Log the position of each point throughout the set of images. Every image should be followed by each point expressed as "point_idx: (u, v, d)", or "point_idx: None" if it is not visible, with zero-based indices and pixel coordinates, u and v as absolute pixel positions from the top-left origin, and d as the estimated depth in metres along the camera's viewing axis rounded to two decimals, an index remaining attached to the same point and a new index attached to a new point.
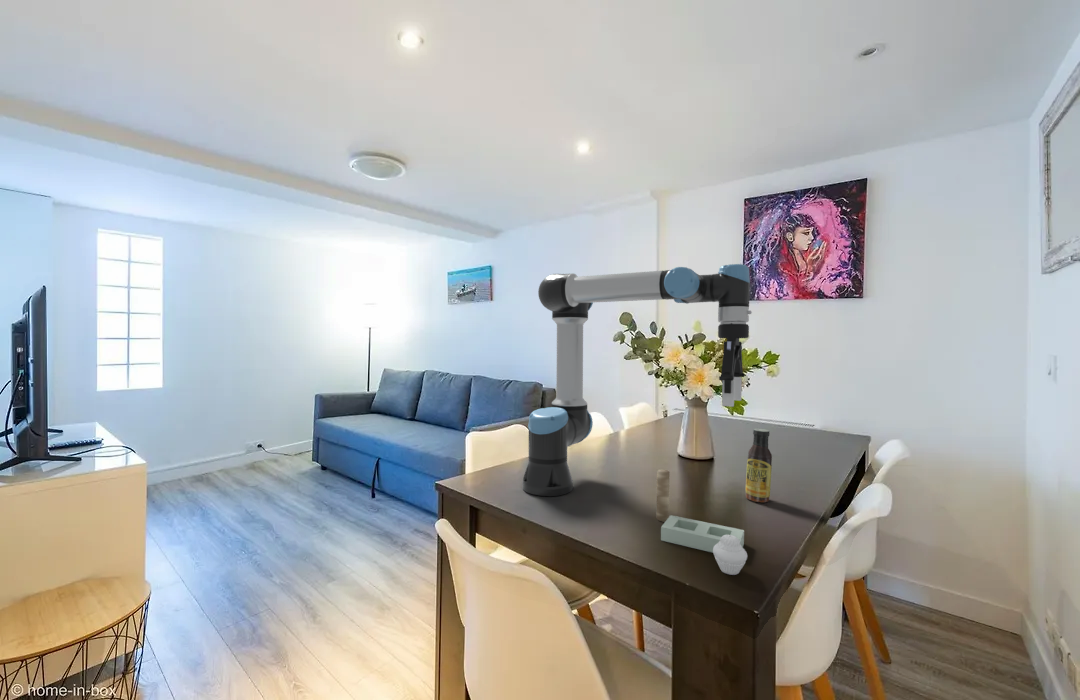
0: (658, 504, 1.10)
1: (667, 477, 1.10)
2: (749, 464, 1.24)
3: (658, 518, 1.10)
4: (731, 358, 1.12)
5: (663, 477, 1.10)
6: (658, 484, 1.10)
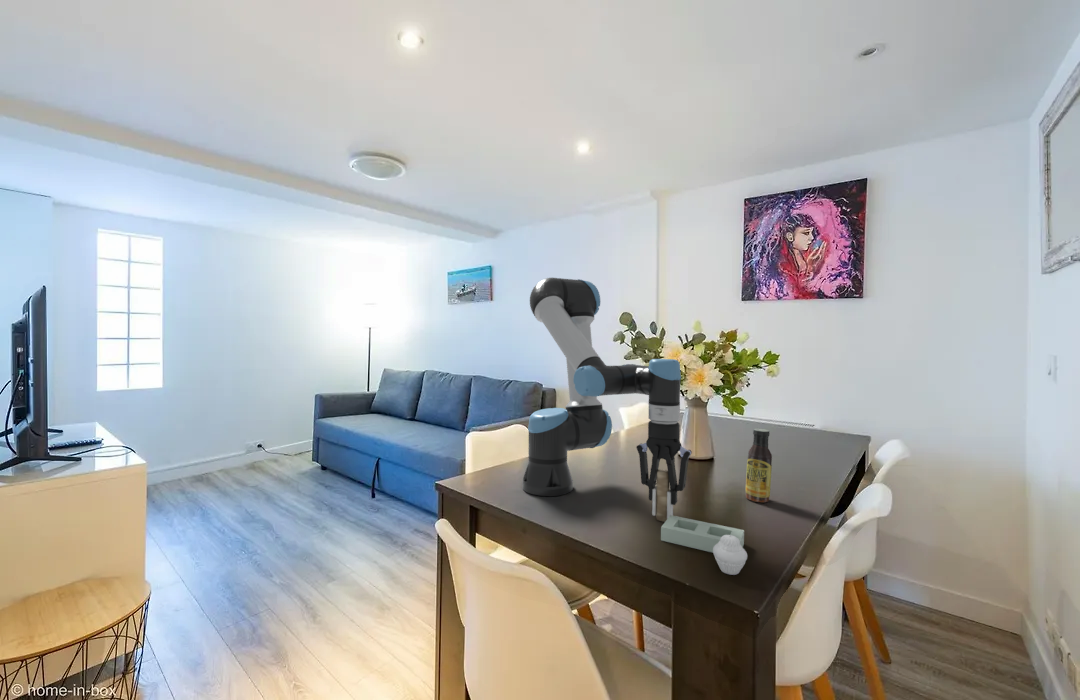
0: (658, 503, 1.10)
1: (667, 477, 1.10)
2: (749, 464, 1.24)
3: (658, 518, 1.10)
4: None
5: (663, 476, 1.10)
6: (658, 484, 1.10)
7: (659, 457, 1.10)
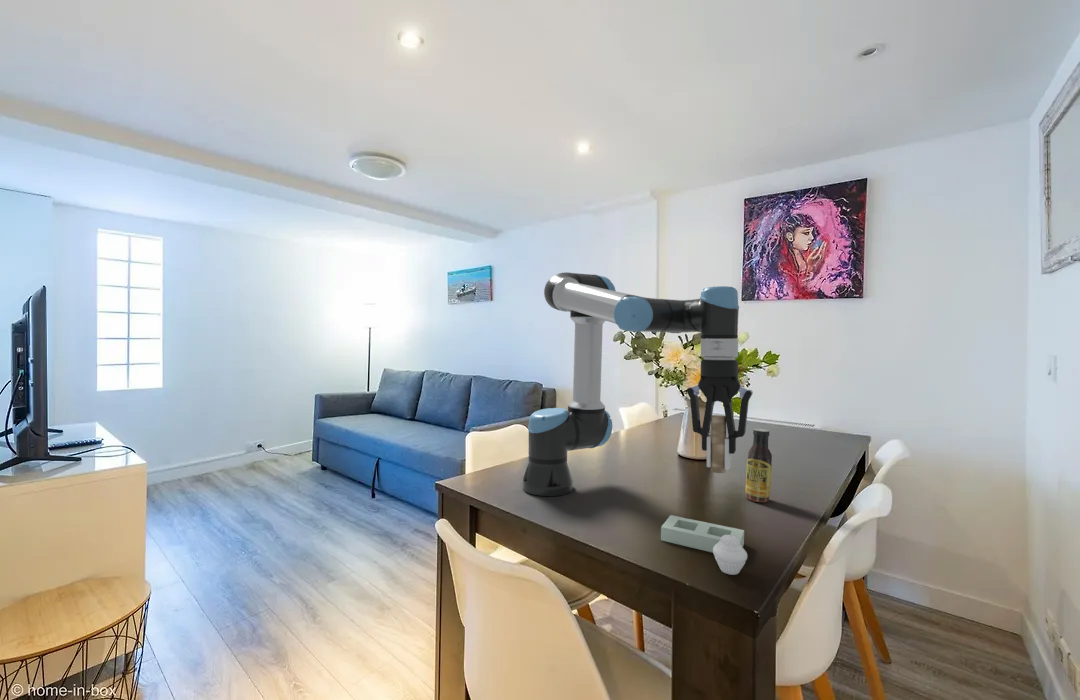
0: (713, 453, 0.96)
1: (724, 422, 0.96)
2: (749, 464, 1.24)
3: (714, 470, 0.96)
4: None
5: (720, 421, 0.95)
6: (713, 430, 0.96)
7: (714, 400, 0.96)
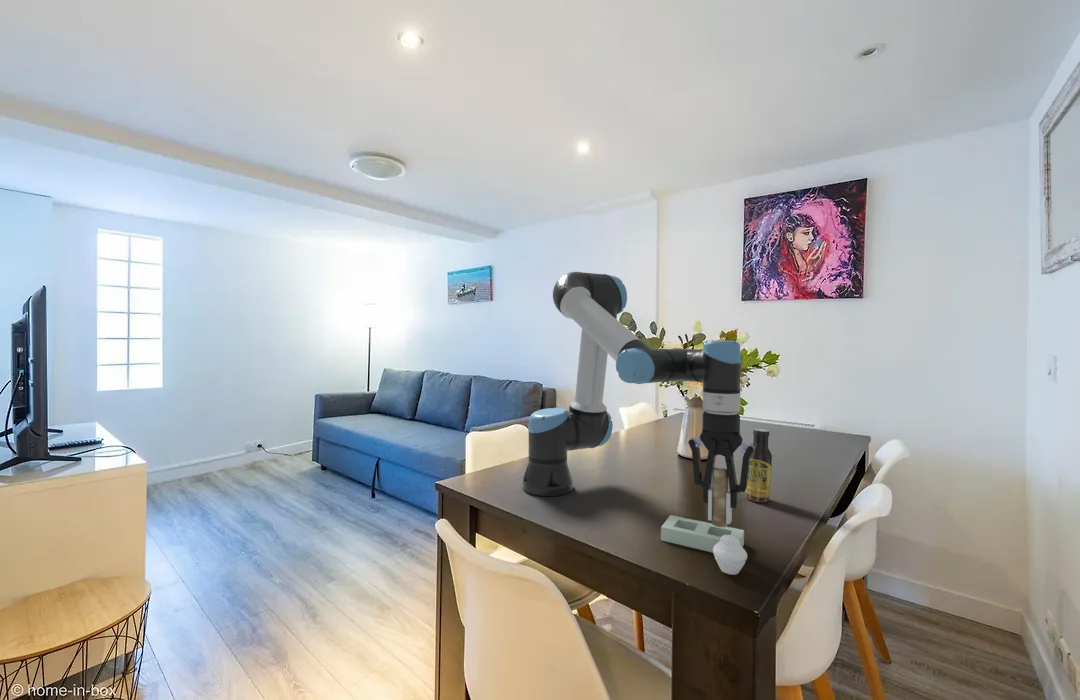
0: (715, 506, 0.96)
1: (726, 476, 0.95)
2: None
3: (715, 523, 0.96)
4: None
5: (722, 475, 0.95)
6: (715, 484, 0.96)
7: (716, 453, 0.96)
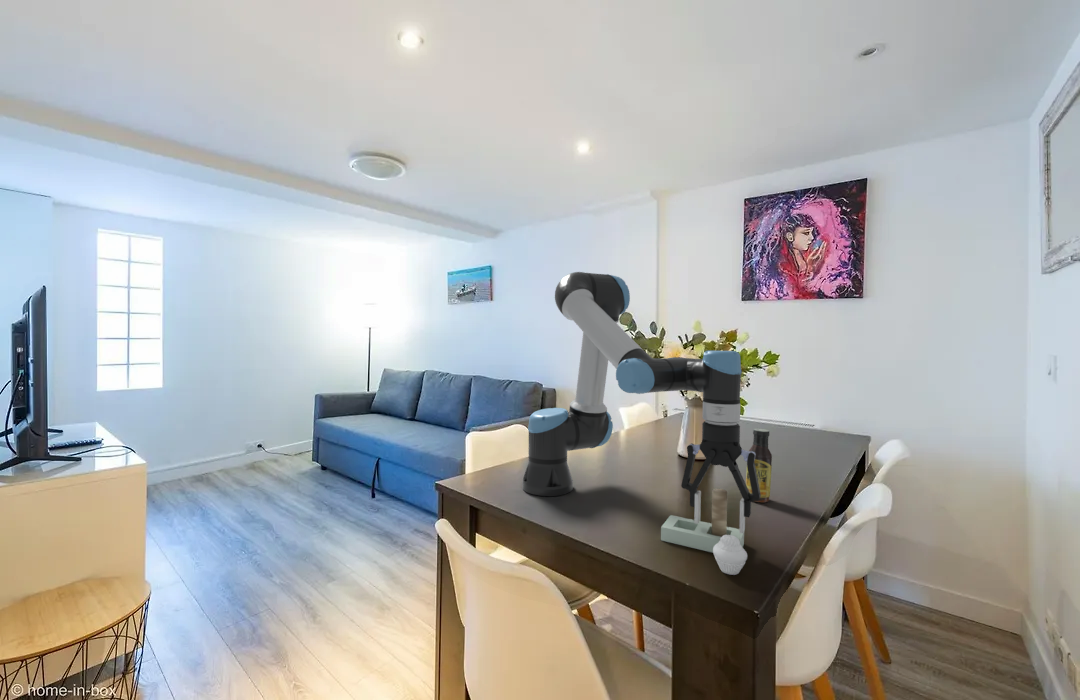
0: (714, 528, 0.96)
1: (725, 498, 0.95)
2: None
3: None
4: None
5: (721, 497, 0.95)
6: (714, 506, 0.96)
7: (716, 463, 0.96)
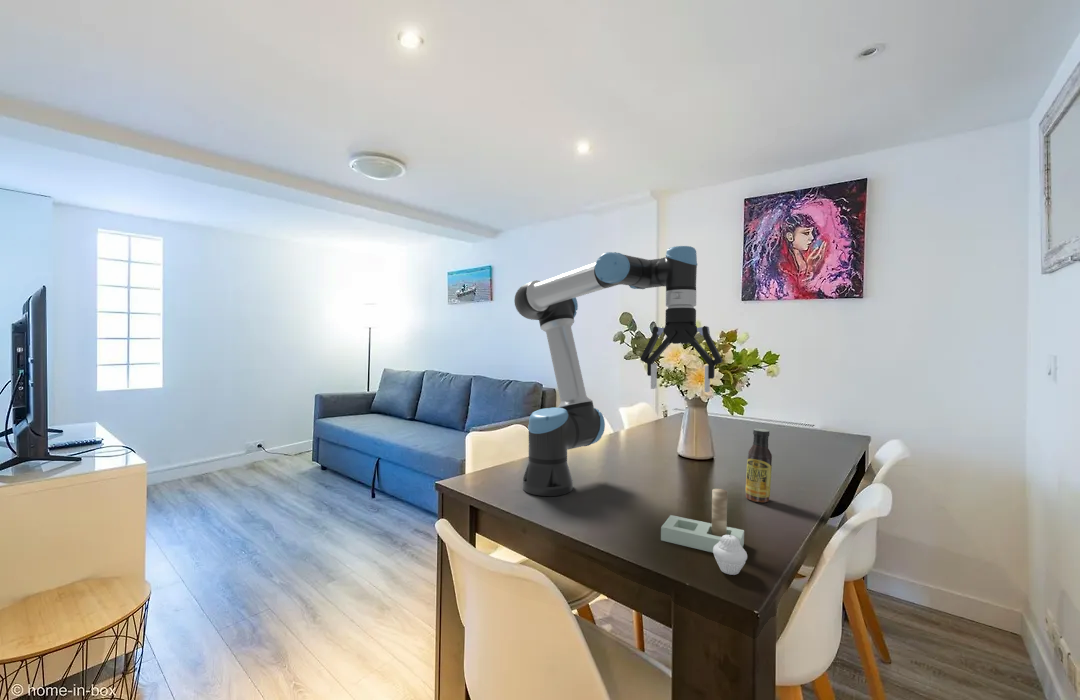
0: (714, 528, 0.96)
1: (725, 498, 0.95)
2: (749, 464, 1.24)
3: None
4: None
5: (721, 497, 0.95)
6: (714, 506, 0.96)
7: (676, 342, 1.15)
